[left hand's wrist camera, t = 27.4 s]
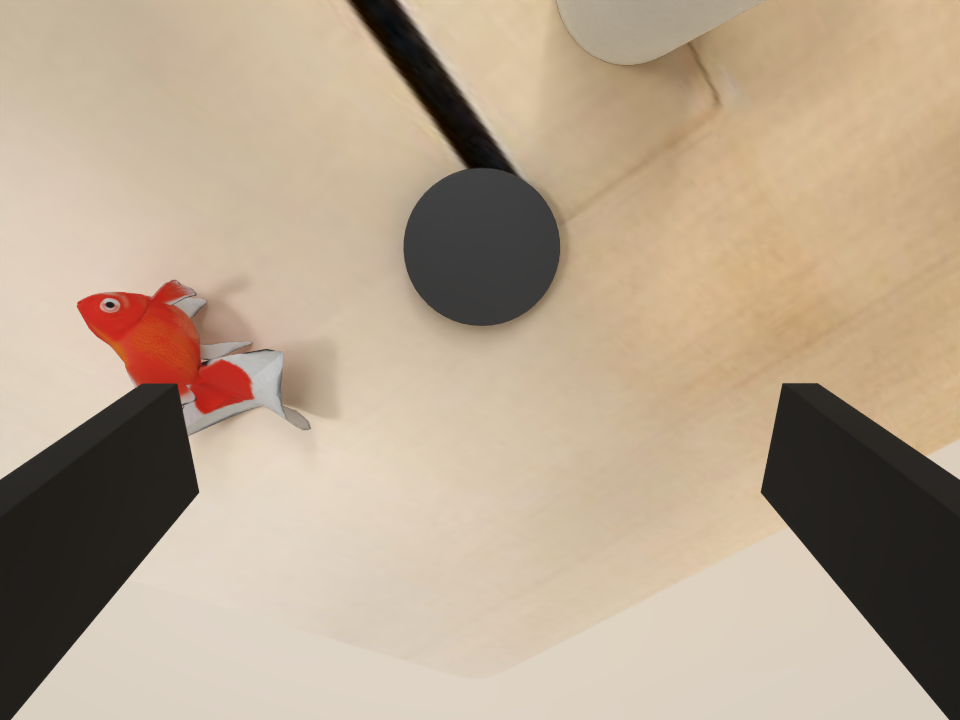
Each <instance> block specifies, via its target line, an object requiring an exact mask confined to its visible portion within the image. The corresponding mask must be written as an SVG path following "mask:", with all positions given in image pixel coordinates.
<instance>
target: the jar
mask: <svg viewBox="0 0 960 720" xmlns="http://www.w3.org/2000/svg"><path fill="white" fill-rule="evenodd" d="M764 1H766V0H556V2H557V6H558V9H559V13H560V16H561V18H562V20H563V22H564V25H565V27H566V28H567V30H568V31H569V33H570V35H571V36H572V37H573V38H574V40H575V41H576V42H577V43H578V44H579V45H580V46H581V47H582V48H583V49H584V50H585V51H587V52H588V53H590V54H591V55H593V56H594V57H597V58H599V59H601V60H603V61H606V62H609V63H613V64H619V65H635V64H642V63H645V62H649V61H652V60H655V59H657V58H659V57H661V56H663V55H665V54H667V53H669V52H671V51H673V50H674V49H676V48H678V47H680V46H682V45H684V44H686V43H687V42H689V41H691V40H693V39H695V38H697V37H699V36H701V35H702V34H704V33H706V32H708V31H710V30H712V29H714V28H715V27H717V26H719V25H721V24H723V23H725V22H727V21H728V20H730V19H732V18H734V17H736V16H738V15H740V14H742V13H743V12H745V11H747V10H749V9H751V8H753V7H755V6H756V5H758V4H760V3H762V2H764Z"/></svg>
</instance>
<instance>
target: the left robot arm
mask: <svg viewBox="0 0 960 720" xmlns="http://www.w3.org/2000/svg"><path fill="white" fill-rule="evenodd" d="M198 493H199V489H198V484H197V479H196V474H195V469H194V464H193V459H192V454H191V449H190V444H189V439H188V434H187V429H186V424H185V419H184V414H183V409H182V404H181V399H180V394H179V389H178V384H177V383H142V384H141V385H139V386H138V387H136V388H135V389H133V390H132V391H130V392H129V393H127V394H126V395H124V396H123V397H121V398H120V399H118V400H117V401H116V402H114V403H113V404H111V405H110V406H108V407H107V408H105V409H104V410H102V411H101V412H99V413H98V414H96V415H95V416H93V417H92V418H91V419H89V420H88V421H86V422H85V423H83V424H82V425H80V426H79V427H77V428H76V429H74V430H73V431H71V432H70V433H68V434H67V435H65V436H64V437H63V438H61V439H60V440H58V441H57V442H55V443H54V444H52V445H51V446H49V447H48V448H46V449H45V450H43V451H42V452H40V453H39V454H38V455H36V456H35V457H33V458H32V459H30V460H29V461H27V462H26V463H24V464H23V465H21V466H20V467H18V468H17V469H15V470H14V471H13V472H11V473H10V474H8V475H7V476H5V477H4V478H2V479H1V480H0V720H11V719H12V718H13V716H14V715H15V714H16V713H17V712H18V710H19V709H20V708H21V707H22V706H23V704H24V703H25V702H26V701H27V700H28V698H29V697H30V696H31V695H32V694H33V692H34V691H35V690H36V689H37V688H38V686H39V685H40V684H41V683H42V682H43V680H44V679H45V678H46V677H47V675H48V674H49V673H50V672H51V671H52V669H53V668H54V667H55V666H56V665H57V663H58V662H59V661H60V660H61V659H62V657H63V656H64V655H65V654H66V653H67V651H68V650H69V649H70V648H71V647H72V645H73V644H74V643H75V642H76V641H77V639H78V638H79V637H80V636H81V634H82V633H83V632H84V631H85V630H86V628H87V627H88V626H89V625H90V624H91V622H92V621H93V620H94V619H95V618H96V616H97V615H98V614H99V613H100V612H101V610H102V609H103V608H104V607H105V605H106V604H107V603H108V602H109V601H110V600H111V598H112V597H113V596H114V595H115V593H116V592H117V591H118V590H119V589H120V587H121V586H122V585H123V584H124V583H125V581H126V580H127V579H128V578H129V577H130V575H131V574H132V573H133V572H134V571H135V569H136V568H137V567H138V566H139V565H140V563H141V562H142V561H143V560H144V559H145V557H146V556H147V555H148V554H149V552H150V551H151V550H152V549H153V548H154V546H155V545H156V544H157V543H158V542H159V540H160V539H161V538H162V537H163V536H164V534H165V533H166V532H167V531H168V530H169V528H170V527H171V526H172V525H173V524H174V522H175V521H176V520H177V519H178V517H179V516H180V515H181V514H182V513H183V511H184V510H185V509H186V508H187V507H188V505H189V504H190V503H191V502H192V501H193V499H194V498H195V497H196V496H197V495H198ZM761 493H762V495H763V496H764V497H765V498H766V499H767V501H768V502H769V503H770V504H771V505H772V507H773V508H774V509H775V510H776V511H777V513H778V514H779V515H780V516H781V517H782V519H783V520H784V521H785V522H786V524H787V525H788V526H789V527H790V528H791V530H792V531H793V532H794V533H795V534H796V536H797V537H798V538H799V539H800V540H801V542H802V543H803V544H804V545H805V546H806V548H807V549H808V550H809V551H810V552H811V554H812V555H813V556H814V557H815V559H816V560H817V561H818V562H819V563H820V565H821V566H822V567H823V568H824V569H825V571H826V572H827V573H828V574H829V575H830V577H831V578H832V579H833V580H834V581H835V583H836V584H837V585H838V586H839V587H840V589H841V590H842V591H843V592H844V593H845V595H846V596H847V597H848V598H849V600H850V601H851V602H852V603H853V604H854V606H855V607H856V608H857V609H858V610H859V612H860V613H861V614H862V615H863V616H864V618H865V619H866V620H867V621H868V622H869V624H870V625H871V626H872V627H873V628H874V630H875V631H876V632H877V633H878V635H879V636H880V637H881V638H882V639H883V641H884V642H885V643H886V644H887V645H888V646H889V648H890V649H891V650H892V651H893V653H894V654H895V655H896V656H897V657H898V659H899V660H900V661H901V662H902V663H903V665H904V666H905V667H906V668H907V669H908V671H909V672H910V673H911V674H912V675H913V677H914V678H915V679H916V680H917V682H918V683H919V684H920V685H921V686H922V687H923V689H924V690H925V691H926V692H927V694H928V695H929V696H930V697H931V698H932V700H933V701H934V702H935V703H936V704H937V706H938V707H939V708H940V709H941V711H942V712H943V713H944V714H945V715H946V716H947V718H948V719H949V720H960V480H959V479H958V478H956V477H955V476H953V475H952V474H950V473H949V472H947V471H946V470H945V469H943V468H941V467H940V466H939V465H937V464H936V463H934V462H933V461H931V460H930V459H928V458H927V457H925V456H924V455H922V454H921V453H920V452H918V451H917V450H915V449H914V448H912V447H911V446H909V445H908V444H906V443H905V442H903V441H902V440H900V439H899V438H897V437H896V436H895V435H893V434H892V433H890V432H889V431H887V430H886V429H884V428H883V427H881V426H880V425H878V424H877V423H875V422H874V421H872V420H871V419H869V418H868V417H867V416H865V415H864V414H862V413H861V412H859V411H858V410H856V409H855V408H853V407H852V406H850V405H849V404H847V403H846V402H844V401H843V400H842V399H840V398H839V397H837V396H836V395H834V394H833V393H831V392H830V391H828V390H827V389H825V388H824V387H822V386H821V385H819V384H818V383H783V384H782V389H781V394H780V399H779V404H778V409H777V414H776V419H775V424H774V429H773V434H772V439H771V444H770V449H769V454H768V459H767V464H766V469H765V474H764V479H763V484H762V489H761Z"/></svg>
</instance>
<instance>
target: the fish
mask: <svg viewBox="0 0 960 720" xmlns="http://www.w3.org/2000/svg"><path fill="white" fill-rule="evenodd" d="M192 296H196V293H195V292H194V291H193V289H191V288H189V287H186V286H184V285H182V284H180V283H179V282H178V281H177V280H172V281H170V282H168V283H165V284H164V285H163V286H162V287H161V288H160V289H159V290H158V291H157V292H156V293H155V294H154V296H153V297H151V296H145V295H142V294H134V293H126V292H106V293H98V294H94V295H91V296H89V297H86V298H84V299H82V300H81V301H79V302H77V304H78V305H77V308H78V310H79V311H80V313H81V315H82V317H83V318H84V320H85V322H86V324H87V326H88V328H89V329H90V330H91V331H92V332H93V333H94V334H95V335H96V336H97V337H98V338H100V339H101V340H103V341H104V342H106V343H107V344H109V345H110V346H111V347H112V348H113V349H114V350H115V352H116V353H117V354H118V355H119V357H120V358H121V359H122V360H123V361H124V363H125V367H126V370H127V372H128V374H129V377H130V379H131V381H132V383H133V385H134V386H135V388H136V387H138V386H139V385H141V384H142V383H177V384H178V389H179V394H180V399H181V404H182V406H183V408H182V409H183V414H184V419H185V424H186V429H187V434H188V436H189V435H192V434H194V433H196V432H198V431H201V430H203V429H205V428H207V427H209V426H212V425H214V424H216V423H218V422H221V421H223V420H225V419H227V418H230V417H232V416H235V415H237V414H240V413H242V412H245V411H247V410H250V409H253V408H257V407H261V406H265V407H267V408H269V409H270V410H272V411H274V412H275V413H277V414H278V415H280V416H281V417H282V418H284V419H286V420H287V421H289V422H290V423H292V424H293V425H295V426H296V427H298V428H300V429H301V430H309V429H311V427H310V424H309V422H308V421H307V420H306V419H305V418H304V417H303V416H302V415H301V414H300V413H298V412H297V411H296V410H293V409H290V408H287V407H284V406H282V399H281V378H282V368H283V353H284V352H280V351H274V350H269V349H264V350H259V351H253V352H247V353H242V354H235V355H229V356H225V357H222V356H224V355H226V354H228V353H230V352H232V351H235V350H237V349H239V348H241V347H244V346H246V345H249V344H251V342H250V341H245V342H225V343H218V344H212V345H203V344H200V341H199V336H198V333H197V330H196V328H195V326H194V324H193V322H192V321H191V319H190V318H192V317H193V316H195V314H196V313H197V312H198V311H199V309H200V308H201V307H203V306H204V305H205V304H206V301H205V300H204V299H203V298H187V297H192ZM220 357H221V358H220ZM201 359H204V360H209V361H206V362H202V363H201ZM186 385H187V386H186Z"/></svg>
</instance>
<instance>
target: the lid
mask: <svg viewBox="0 0 960 720" xmlns="http://www.w3.org/2000/svg"><path fill="white" fill-rule="evenodd" d="M559 254H560V239H559V232H558V228H557V224H556V221H555V218H554V216H553V214H552V212H551V210H550V208H549V206H548V205H547V203H546V201H545V200H544V199H543V198H542V196H541V195H540V194H539V193H538V192H537V191H536V190H535V189H534V188H533V187H532V186H530V185H529V184H528V183H526V182H525V181H523V180H522V179H520V178H518V177H516V176H515V175H513V174H510V173H508V172H505V171H502V170H497V169H493V168H471V169H466V170H462V171H459V172H456V173H453V174H451V175H449V176H447V177H445V178H443V179H442V180H440V181H439V182H437V183H436V184H435V185H433V186H432V187H431V188H430V189H429V190H428V191H427V192H426V193H425V194H424V195H423V196H422V197H421V199H420V200H419V201H418V202H417V204H416V206H415V207H414V209H413V211H412V213H411V215H410V218H409V220H408V223H407V227H406V230H405V236H404V258H405V264H406V268H407V272H408V274H409V277H410V279H411V281H412V283H413V285H414V287H415V289H416V290H417V292H418V293H419V295H420V296H421V297H422V298H423V299H424V301H425V302H426V303H427V304H428V305H429V306H431V307H432V308H433V309H434V310H435V311H437V312H438V313H440V314H442V315H443V316H445V317H447V318H449V319H451V320H454V321H457V322H460V323H463V324H468V325H477V326H487V325H495V324H500V323H504V322H507V321H510V320H512V319H514V318H516V317H518V316H520V315H522V314H523V313H525V312H527V311H528V310H529V309H530V308H532V307H533V306H534V305H535V304H536V303H537V302H538V301H539V300H540V299H541V298H542V297H543V295H544V294H545V292H546V291H547V290H548V288H549V286H550V284H551V282H552V281H553V278H554V275H555V273H556V270H557V266H558V262H559Z"/></svg>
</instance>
